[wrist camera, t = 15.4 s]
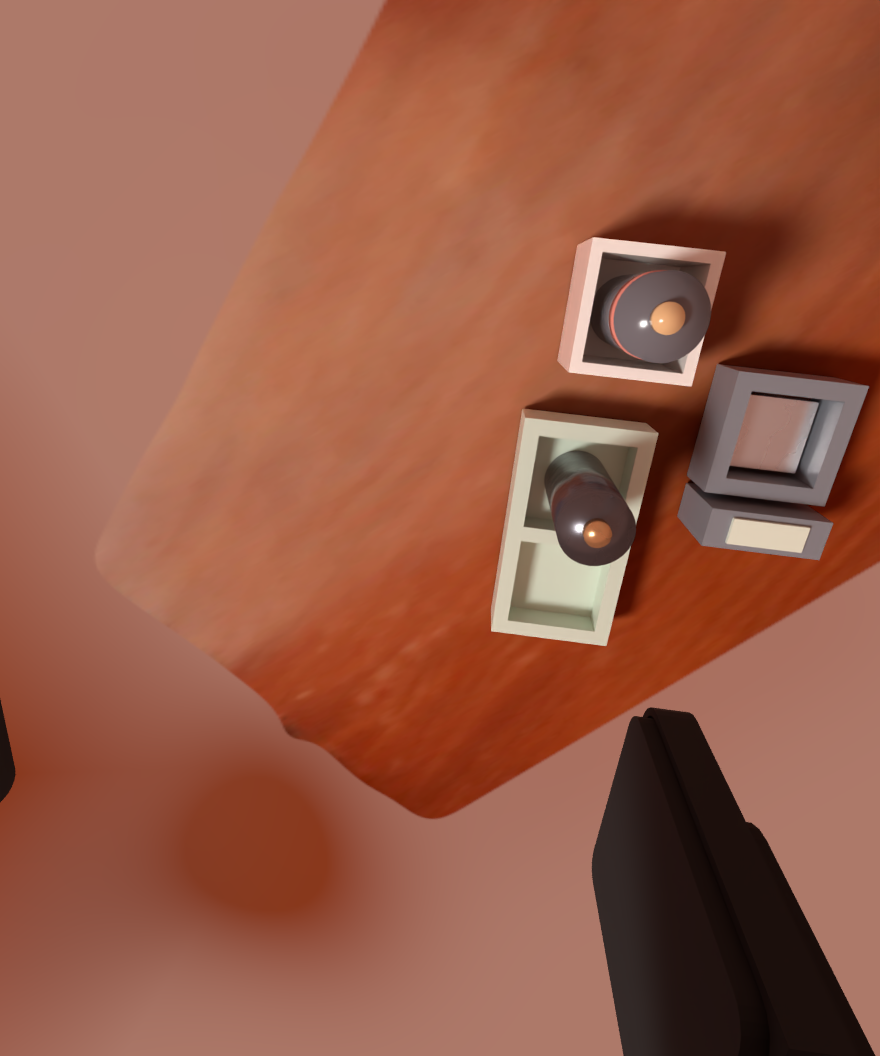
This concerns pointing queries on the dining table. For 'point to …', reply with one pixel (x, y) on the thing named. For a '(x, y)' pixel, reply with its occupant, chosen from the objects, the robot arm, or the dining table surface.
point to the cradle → (763, 495)
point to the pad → (774, 432)
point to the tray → (530, 538)
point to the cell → (588, 510)
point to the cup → (639, 310)
